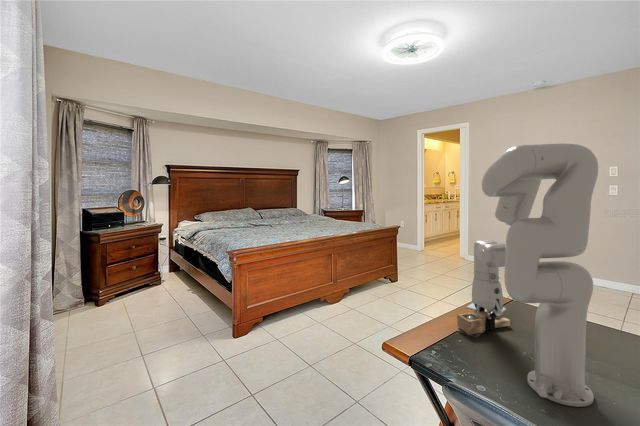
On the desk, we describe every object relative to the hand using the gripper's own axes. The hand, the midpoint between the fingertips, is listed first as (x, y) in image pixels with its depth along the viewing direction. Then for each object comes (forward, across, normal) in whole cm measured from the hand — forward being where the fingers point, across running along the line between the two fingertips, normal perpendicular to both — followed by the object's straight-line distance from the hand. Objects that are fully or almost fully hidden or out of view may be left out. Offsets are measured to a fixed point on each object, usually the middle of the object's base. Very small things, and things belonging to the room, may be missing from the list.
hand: (486, 326), depth 104 cm
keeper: (+1, +8, -7) cm, 10 cm away
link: (0, 0, 0) cm, 1 cm away
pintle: (+1, 0, +6) cm, 6 cm away
